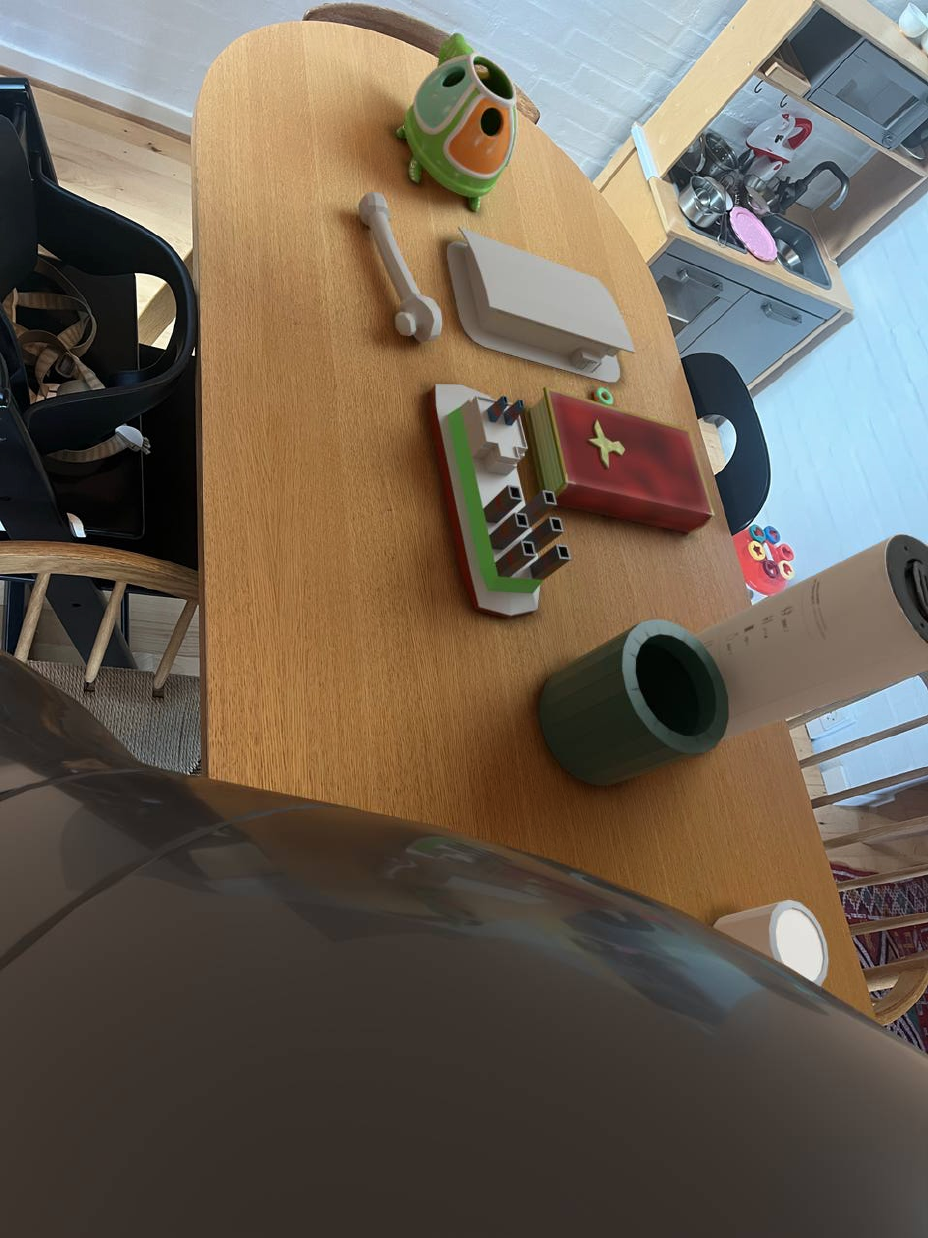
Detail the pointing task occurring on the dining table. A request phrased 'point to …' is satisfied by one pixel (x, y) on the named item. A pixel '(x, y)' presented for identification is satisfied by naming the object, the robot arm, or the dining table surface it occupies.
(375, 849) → the robot arm
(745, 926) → the white tapered cup
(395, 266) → the grey knobbed bar
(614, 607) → the dining table surface
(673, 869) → the dining table surface
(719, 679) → the jar
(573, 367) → the grey tray
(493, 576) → the toy boat
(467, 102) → the turtle holder
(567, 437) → the hardcover book
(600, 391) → the green looped rod
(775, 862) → the dining table surface
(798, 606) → the beige cylinder
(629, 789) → the dining table surface
